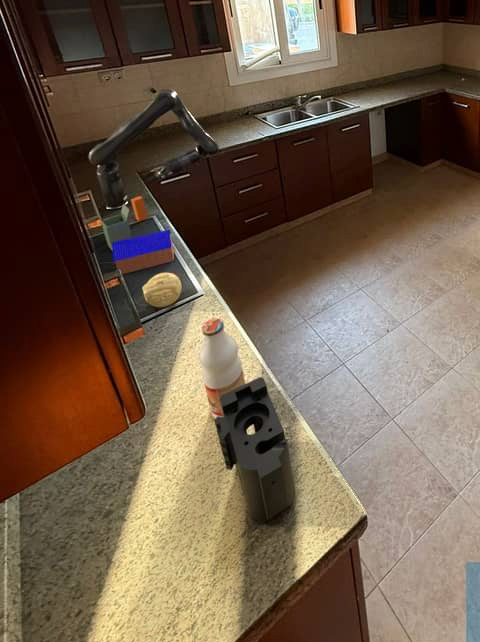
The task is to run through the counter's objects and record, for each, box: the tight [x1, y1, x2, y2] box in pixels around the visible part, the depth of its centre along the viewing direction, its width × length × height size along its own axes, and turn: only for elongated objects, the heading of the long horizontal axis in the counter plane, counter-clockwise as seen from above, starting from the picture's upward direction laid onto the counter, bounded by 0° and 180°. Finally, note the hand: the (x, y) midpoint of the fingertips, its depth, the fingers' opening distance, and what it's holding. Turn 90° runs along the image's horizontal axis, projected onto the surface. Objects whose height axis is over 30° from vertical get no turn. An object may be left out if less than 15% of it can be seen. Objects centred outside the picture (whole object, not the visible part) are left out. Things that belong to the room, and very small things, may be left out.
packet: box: [130, 195, 149, 222], centre depth 205 cm, size 4×3×11 cm
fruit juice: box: [198, 317, 246, 420], centre depth 110 cm, size 9×9×28 cm
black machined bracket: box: [214, 376, 296, 526], centre depth 92 cm, size 12×21×22 cm, turn 34°
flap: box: [120, 204, 131, 220], centre depth 184 cm, size 8×4×1 cm
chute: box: [101, 213, 133, 252], centre depth 184 cm, size 8×8×12 cm
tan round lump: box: [142, 272, 183, 308], centre depth 151 cm, size 12×12×11 cm
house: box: [112, 229, 175, 275], centre depth 174 cm, size 12×20×12 cm, turn 117°
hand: (146, 179), depth 205 cm, fingers open, 8 cm apart
